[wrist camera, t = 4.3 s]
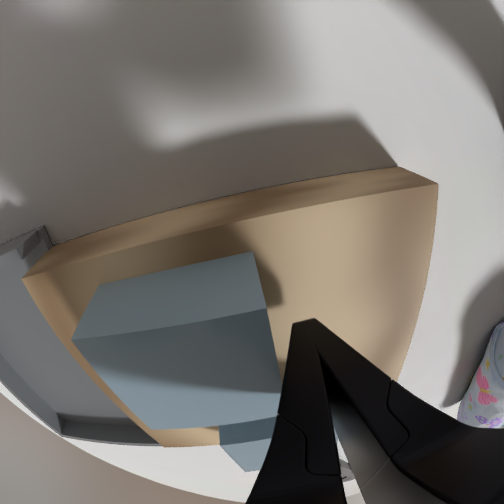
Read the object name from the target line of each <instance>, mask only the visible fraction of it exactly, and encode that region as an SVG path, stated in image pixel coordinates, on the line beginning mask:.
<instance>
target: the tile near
mask: <svg viewBox="0 0 504 504" xmlns="http://www.w3.org/2000/svg"><path fill="white" fill-rule="evenodd" d="M71 341H72V342H73V343H74V345H75V346H76V347H77V349H78V350H79V351H80V353H81V354H82V355H83V357H84V358H85V359H86V360H87V362H88V363H89V364H90V365H91V367H92V368H93V369H94V370H95V371H96V373H97V374H98V375H99V376H100V377H101V379H102V380H103V381H104V382H105V383H106V384H107V385H108V387H109V388H110V389H111V390H112V391H113V392H114V393H115V394H116V395H117V396H118V397H119V398H120V400H121V401H122V402H123V403H124V404H125V405H126V406H127V407H128V408H129V409H130V410H131V411H132V412H133V413H134V414H135V415H136V416H137V417H138V418H139V419H141V420H142V421H143V422H144V423H145V424H146V425H147V426H148V427H149V428H150V429H151V430H161V429H185V428H199V427H210V426H219V425H227V424H235V423H242V422H248V421H254V420H260V419H265V418H270V417H275V416H277V415H278V414H277V411H278V406H279V401H280V395H281V390H282V381H281V376H280V371H279V366H278V361H277V356H276V351H275V346H274V341H273V337H272V332H271V327H270V322H269V317H268V312H267V307H266V303H265V299H264V295H263V291H262V287H261V283H260V279H259V274H258V270H257V266H256V262H255V258H254V254H253V251H251V252H246V253H241V254H237V255H232V256H228V257H223V258H219V259H214V260H209V261H205V262H200V263H196V264H191V265H187V266H182V267H177V268H173V269H168V270H164V271H159V272H155V273H150V274H145V275H141V276H136V277H132V278H127V279H123V280H118V281H113V282H109V283H104V284H100V285H99V286H98V287H97V289H96V291H95V293H94V295H93V296H92V298H91V300H90V302H89V304H88V306H87V308H86V310H85V312H84V314H83V316H82V317H81V319H80V321H79V323H78V326H77V328H76V330H75V332H74V334H73V336H72V338H71Z"/></svg>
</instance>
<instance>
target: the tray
mask: <svg viewBox="0 0 504 504" xmlns="http://www.w3.org/2000/svg"><path fill="white" fill-rule="evenodd" d="M52 247H53V245H52V243H51V241H50V239H49V236H48V234H47V232H46V229H45V227H44V226H42V227H40V228H38V229H35V230H33V231H31V232H28V233H26V234H24V235H22V236H20V237H17V238H15V239H13V240H11V241H9V242H7V243H5V244H3V245H1V246H0V381H1V383H2V384H3V385H4V386H5V387H6V388H7V389H8V390H9V391H10V392H11V393H12V394H13V395H14V396H15V397H16V398H17V399H18V400H19V401H20V402H21V403H22V404H23V405H24V406H25V407H27V408H28V409H29V410H30V411H31V412H32V413H33V414H34V415H36V416H37V417H38V418H39V419H40V420H41V421H43V422H44V423H45V424H46V425H47V426H49V427H50V428H51V429H52V430H54V431H55V432H56V433H58V434H59V435H60V436H62V437H66V438H72V439H78V440H84V441H91V442H99V443H108V444H119V445H134V446H162V445H161V444H159V443H158V442H157V441H156V440H154V439H153V438H152V437H151V436H150V435H148V434H147V433H146V432H145V431H144V430H143V429H141V428H140V427H139V426H138V425H137V424H136V423H135V422H134V421H133V420H131V419H130V418H129V417H128V416H127V415H126V414H125V413H124V412H123V411H122V410H121V409H120V408H119V407H118V406H117V405H116V404H115V403H114V402H113V401H112V400H111V399H110V398H109V397H108V396H107V395H106V394H105V393H104V392H103V391H102V390H101V389H100V388H99V387H98V385H97V384H96V383H95V382H94V381H93V380H92V379H91V378H90V377H89V375H88V374H87V373H86V372H85V371H84V370H83V368H82V367H81V366H80V365H79V364H78V362H77V361H76V360H75V359H74V357H73V356H72V355H71V354H70V352H69V351H68V350H67V348H66V347H65V346H64V344H63V343H62V342H61V340H60V339H59V338H58V336H57V335H56V334H55V332H54V331H53V329H52V328H51V326H50V325H49V324H48V322H47V321H46V319H45V318H44V316H43V314H42V313H41V311H40V310H39V308H38V307H37V305H36V303H35V302H34V300H33V298H32V297H31V295H30V293H29V292H28V290H27V288H26V286H25V285H24V283H23V281H22V279H21V278H22V277H23V276H24V275H25V274H26V273H27V272H28V270H29V269H30V268H31V267H32V266H33V265H34V264H35V263H36V262H37V260H38V259H39V258H40V257H41V256H42V255H43V254H44V253H45V252H46V251H49V250H50V249H51V248H52Z"/></svg>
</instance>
